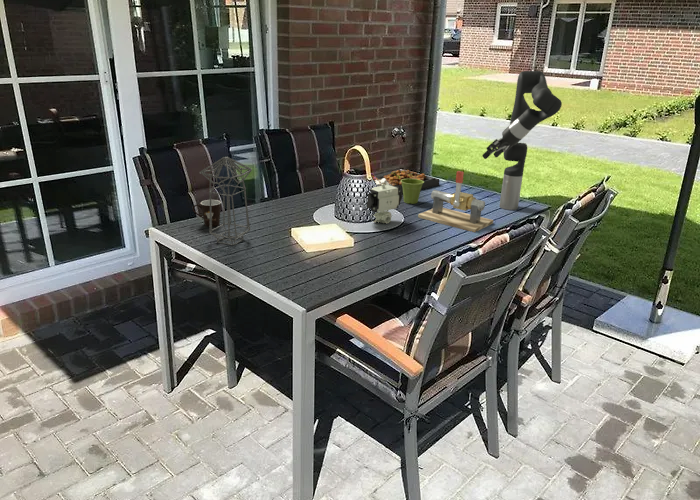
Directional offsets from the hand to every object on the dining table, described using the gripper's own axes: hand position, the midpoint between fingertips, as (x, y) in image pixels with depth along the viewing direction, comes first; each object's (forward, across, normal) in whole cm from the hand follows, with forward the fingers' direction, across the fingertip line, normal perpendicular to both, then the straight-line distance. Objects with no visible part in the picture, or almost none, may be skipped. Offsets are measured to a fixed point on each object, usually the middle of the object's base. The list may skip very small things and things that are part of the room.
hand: (489, 156), depth 233 cm
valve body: (+35, -5, +9) cm, 36 cm away
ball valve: (+50, +23, -4) cm, 56 cm away
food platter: (+75, -30, -35) cm, 88 cm away
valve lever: (+28, 0, +7) cm, 28 cm away
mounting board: (+36, -6, +10) cm, 38 cm away
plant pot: (+58, -12, -15) cm, 61 cm away
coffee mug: (+83, +86, -37) cm, 125 cm away
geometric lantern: (+67, +91, -18) cm, 115 cm away
